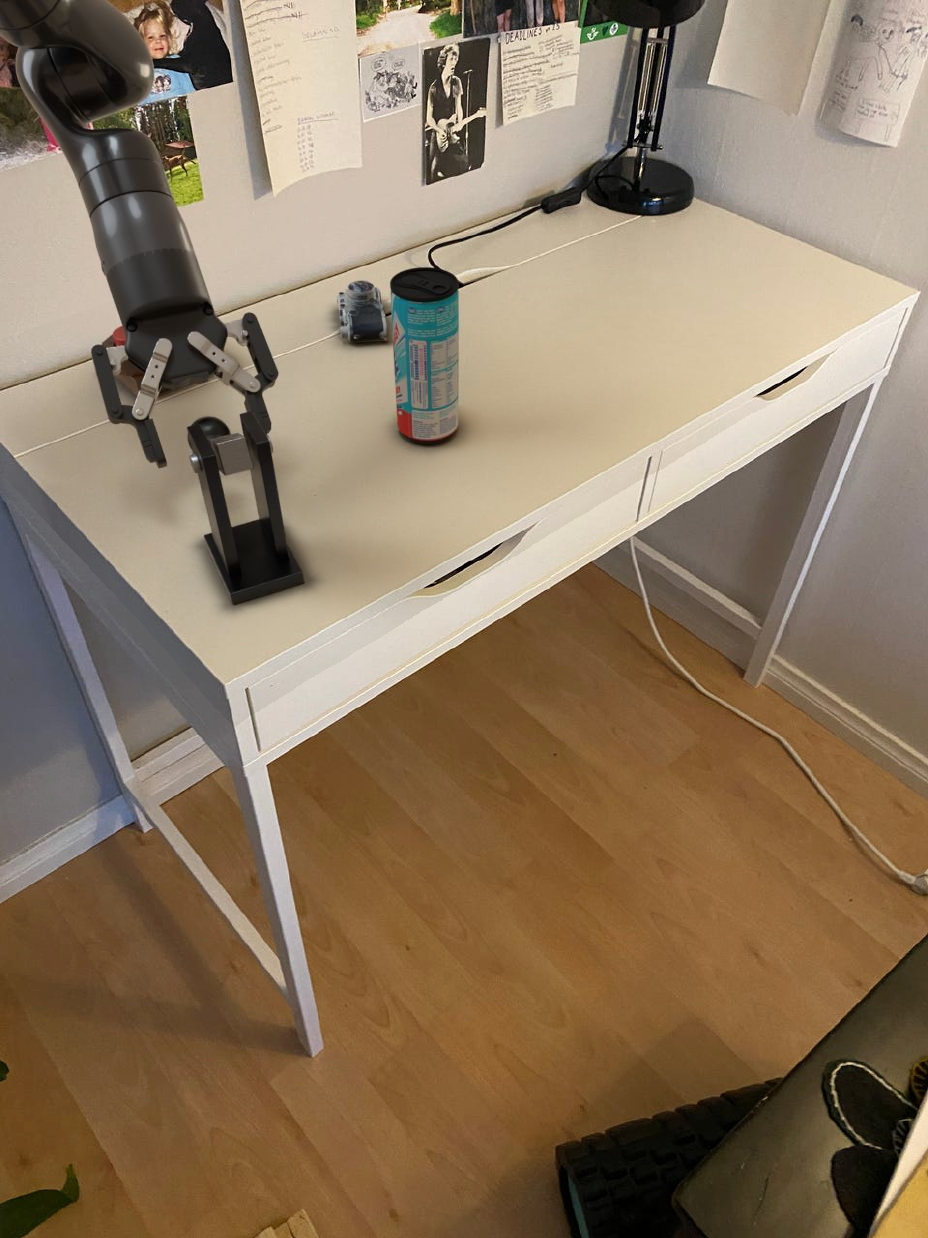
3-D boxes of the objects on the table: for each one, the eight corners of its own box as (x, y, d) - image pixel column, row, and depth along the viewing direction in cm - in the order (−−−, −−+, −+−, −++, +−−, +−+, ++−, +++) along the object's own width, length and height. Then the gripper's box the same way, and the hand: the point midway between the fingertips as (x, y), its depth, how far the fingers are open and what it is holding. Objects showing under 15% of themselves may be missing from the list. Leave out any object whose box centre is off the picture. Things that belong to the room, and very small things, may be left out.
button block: (130, 403, 96) (120, 368, 93) (99, 375, 99) (88, 340, 97) (227, 366, 101) (220, 331, 98) (194, 340, 105) (186, 306, 102)
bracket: (205, 545, 80) (173, 415, 71) (274, 525, 82) (251, 396, 73) (232, 605, 75) (201, 473, 66) (304, 582, 77) (284, 451, 68)
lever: (191, 461, 81) (179, 419, 80) (232, 450, 83) (221, 409, 81) (218, 486, 70) (204, 438, 69) (265, 473, 71) (252, 426, 70)
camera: (342, 348, 103) (338, 312, 100) (337, 304, 111) (334, 269, 108) (388, 345, 104) (386, 309, 101) (381, 301, 111) (379, 266, 108)
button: (126, 359, 95) (122, 343, 93) (111, 346, 97) (106, 330, 95) (157, 348, 96) (153, 332, 95) (141, 335, 98) (137, 319, 97)
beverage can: (429, 405, 96) (426, 260, 85) (471, 430, 93) (472, 282, 82) (385, 429, 93) (375, 281, 82) (426, 455, 90) (421, 305, 79)
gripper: (58, 263, 73) (127, 466, 74) (238, 229, 78) (301, 421, 79) (66, 299, 80) (129, 483, 81) (231, 266, 85) (289, 441, 86)
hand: (213, 452), depth 80 cm, fingers open, 8 cm apart
